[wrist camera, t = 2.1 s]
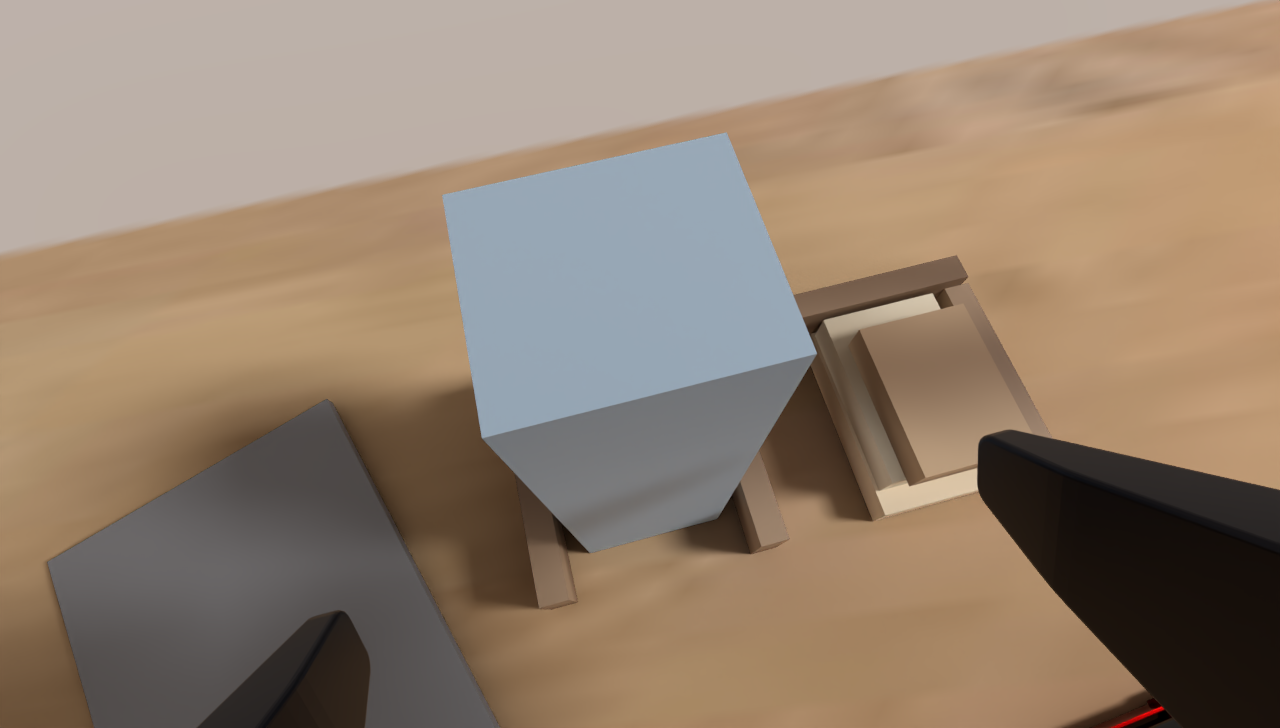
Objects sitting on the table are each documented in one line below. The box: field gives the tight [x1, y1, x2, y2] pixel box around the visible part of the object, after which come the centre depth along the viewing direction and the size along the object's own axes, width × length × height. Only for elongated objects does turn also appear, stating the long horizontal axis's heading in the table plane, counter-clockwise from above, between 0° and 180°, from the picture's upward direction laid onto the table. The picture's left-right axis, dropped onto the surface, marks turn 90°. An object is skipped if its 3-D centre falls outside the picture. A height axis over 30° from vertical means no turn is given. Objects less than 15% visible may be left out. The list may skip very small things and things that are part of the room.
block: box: [442, 132, 817, 553], centre depth 13 cm, size 4×4×12 cm
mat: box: [47, 399, 500, 728], centre depth 17 cm, size 12×9×1 cm
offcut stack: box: [810, 293, 1032, 521], centre depth 18 cm, size 6×4×3 cm, turn 15°
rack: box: [515, 255, 1053, 609], centre depth 19 cm, size 7×15×2 cm, turn 105°
